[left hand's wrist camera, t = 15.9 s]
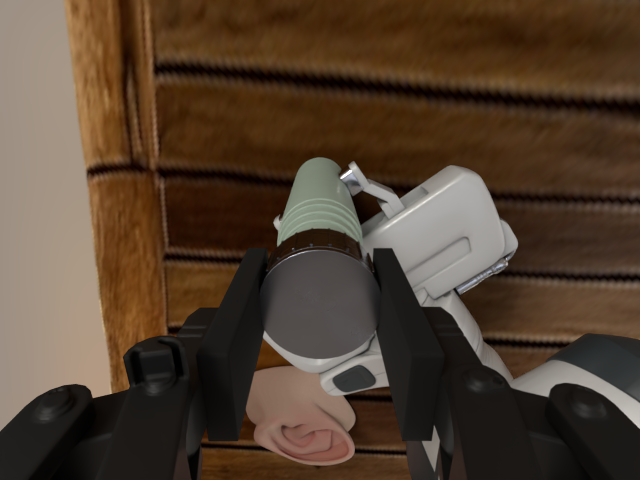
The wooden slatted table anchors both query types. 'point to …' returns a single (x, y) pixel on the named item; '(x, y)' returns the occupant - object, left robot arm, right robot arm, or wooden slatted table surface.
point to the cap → (320, 294)
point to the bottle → (319, 202)
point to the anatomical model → (300, 417)
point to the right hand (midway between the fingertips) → (312, 192)
